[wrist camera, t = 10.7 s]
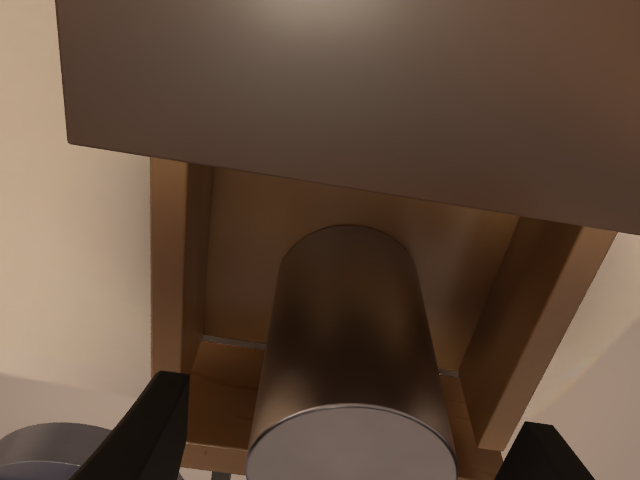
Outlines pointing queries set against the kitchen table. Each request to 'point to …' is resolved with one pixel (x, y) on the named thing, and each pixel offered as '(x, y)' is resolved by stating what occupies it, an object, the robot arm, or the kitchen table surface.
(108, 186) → the kitchen table surface
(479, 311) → the drawer
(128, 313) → the kitchen table surface
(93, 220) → the kitchen table surface
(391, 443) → the metal canister
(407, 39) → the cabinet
